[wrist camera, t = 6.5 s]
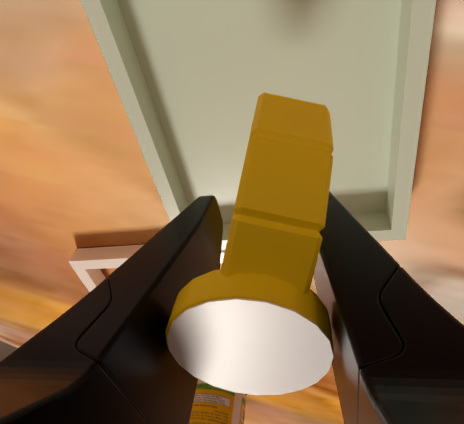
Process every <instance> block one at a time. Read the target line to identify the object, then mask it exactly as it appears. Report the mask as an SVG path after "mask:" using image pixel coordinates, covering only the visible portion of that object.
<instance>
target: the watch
mask: <svg viewBox="0 0 464 424" xmlns="http://www.w3.org/2000/svg"><path fill="white" fill-rule="evenodd" d="M333 150H334V147H333V137H332V128H331V118H330V113H329V111H328V109H327V107H326V105H321V104H316V103H312V102H307V101H302V100H298V99H293V98H288V97H284V96H279V95H274V94H270V93H265V92H264V93H263V94H261V95H260V96H258V100H257V105H256V109H255V114H254V118H253V122H252V125H251V132H250V137H249V141H248V146H247V151H246V155H245V160H244V164H243V169H242V174H241V178H240V183H239V188H238V192H237V197H236V201H235V206H234V211H233V215H232V220H231V225H230V229H229V234H228V239H227V243H226V248H225V253H224V257H223V262H222V267H221V269H219V270H214V271H211V272H209V273H206V274H204V275H201V276H199V277H197V278H194V279H193V280H191V281H190V282H189V283H188V284H187V285H186V286H185V287H184V288H183V289H182V290H181V291H180V292H179V293H178V295H177V298H176V301H175V303H174V306H173V309H172V312H171V315H170V318H169V321H168V324H167V328H166V331H165V335H166V341H167V346H168V349H169V351H170V352H171V354H172V355H173V357H174V358H175V360H176V361H177V362H178V364H179V365H180V366H181V367H183V368H184V369H185V370H186V371H188V372H189V373H190V374H191V375H193V376H194V377H196V378H198V379H200V380H202V381H204V382H206V383H208V384H210V385H212V386H215V387H218V388H222V389H225V390H228V391H232V392H236V393H243V394H251V395H281V394H285V393H290V392H295V391H300V390H302V389H304V388H306V387H309V386H311V385H313V384H315V383H317V382H318V381H319V380H320V379H321V378H322V377H323V376H324V375H325V374H326V373H327V372H328V371H329V369H330V366H331V363H332V360H333V354H334V348H333V339H332V329H331V322H330V318H329V314H328V310H327V308H326V306H325V305H324V304H323V303H322V301H321V300H320V299H319V297H318V296H317V295H316V294H315V293H314V292H313V291H312V290H310V286H311V282H312V278H313V274H314V270H315V266H316V262H317V258H318V255H319V251H320V247H321V243H322V239H323V238H322V236H321V235H320V233H319V231H321V230H322V229H323V228H324V227H325V222H326V214H327V205H328V197H329V189H330V181H331V173H332V165H333V156H332V152H333Z"/></svg>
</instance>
